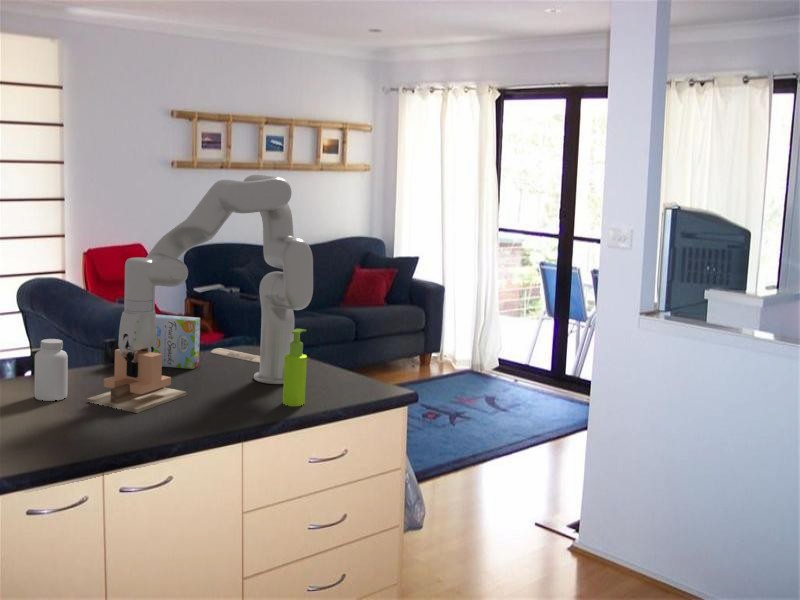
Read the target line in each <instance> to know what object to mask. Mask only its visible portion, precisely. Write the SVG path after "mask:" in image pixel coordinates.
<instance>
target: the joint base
mask: <svg viewBox="0 0 800 600" xmlns="http://www.w3.org/2000/svg"><path fill="white" fill-rule="evenodd" d="M187 394H188V392H187V391H184V390H179V389H173V388H169V387H166V386H165V387H162V388H159V389H156V390H153V391H150V392H147V393H144V394H137V393H132V392H130V384H124V385H121V386H118V387H115V388H110V391H107V392H104V393H101V394H97V395H94V396H90V397H87V398H86V403H88V402H90V403H89V404H93V403H94V404H95V405H97V404H99V406H102V405H104V406H103V407H107V406H109V407H108V408H111V407H112V408H111V409H116V408H117V410H121V409H122V411H127V412H132V413H136V414H138V413H140V412H144V411H146V410H149V409H152V408H155V407H158V406H161V405H164V404H166V403H169V402H172V401H174V400H177V399H181V398H183V397H186V396H187ZM94 404H93V405H94Z"/></svg>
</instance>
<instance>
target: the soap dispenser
mask: <svg viewBox="0 0 800 600" xmlns="http://www.w3.org/2000/svg"><path fill="white" fill-rule="evenodd" d="M304 332H307V329H304V328H294V330H293V331H292V334H294V338H293V341H292V342H290V353H289V354H286V355H285V361H284V384H282V385H283V387H282V388H283V389H282V390H283V391H282V392H283V393H282V404H283V405H284V404H285V405H284V406H287V405H288V406H287V407H301V405H302V406H304V405H305V404H306V390H307V389H306V386H307V385H306V384H307V367H308V355H307V354H304V353H303V349H304V343H303V342H302V341H301V334H302V333H304ZM303 404H304V405H303Z"/></svg>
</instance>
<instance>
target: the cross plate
mask: <svg viewBox="0 0 800 600" xmlns="http://www.w3.org/2000/svg"><path fill="white" fill-rule="evenodd" d="M119 350H120V348H117V349H114V375H113V376H110V377H107V378H103V387H104V388H107V389H108V388H109V389H111V388H115V387H118V386H121V385H124V384H129V385H130V392H132V393H137V394H144V393H147V392H150V391H153V390H156V389H159V388H162V387H165V388H166V387H168V386H171V385H172V377H171V376H167V375H162V374H163V373H162V371H163V370H162V368H163V366H162V354H159V353H153V352H148V351H142V350H138V353H137V360H136V362H138V377H136V378H134V377H129V376H127V375H126V372H127V361H125V358H124V357H123V356H122V355H121V354H119ZM130 354H131V355H133V352H131V353H130Z"/></svg>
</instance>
